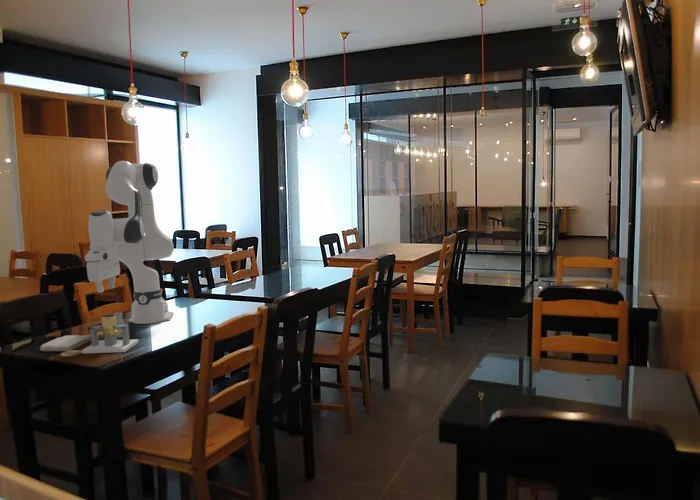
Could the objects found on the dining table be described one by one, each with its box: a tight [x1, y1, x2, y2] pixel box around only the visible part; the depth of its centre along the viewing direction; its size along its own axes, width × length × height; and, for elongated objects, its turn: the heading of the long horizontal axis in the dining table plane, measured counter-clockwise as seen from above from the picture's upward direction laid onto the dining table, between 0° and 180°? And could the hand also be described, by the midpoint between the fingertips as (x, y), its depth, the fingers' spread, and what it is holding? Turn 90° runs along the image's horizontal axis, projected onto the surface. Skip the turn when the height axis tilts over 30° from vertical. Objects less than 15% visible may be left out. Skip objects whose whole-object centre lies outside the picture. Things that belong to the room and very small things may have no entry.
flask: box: [113, 311, 130, 339], centre depth 243 cm, size 7×7×10 cm
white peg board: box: [81, 324, 140, 354], centre depth 225 cm, size 14×16×8 cm
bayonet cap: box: [97, 313, 122, 337], centre depth 224 cm, size 5×9×8 cm, turn 89°
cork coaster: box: [60, 349, 83, 357], centre depth 219 cm, size 7×7×1 cm
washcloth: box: [39, 334, 91, 352], centre depth 232 cm, size 12×18×3 cm, turn 175°
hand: (106, 290), depth 223 cm, fingers open, 8 cm apart
